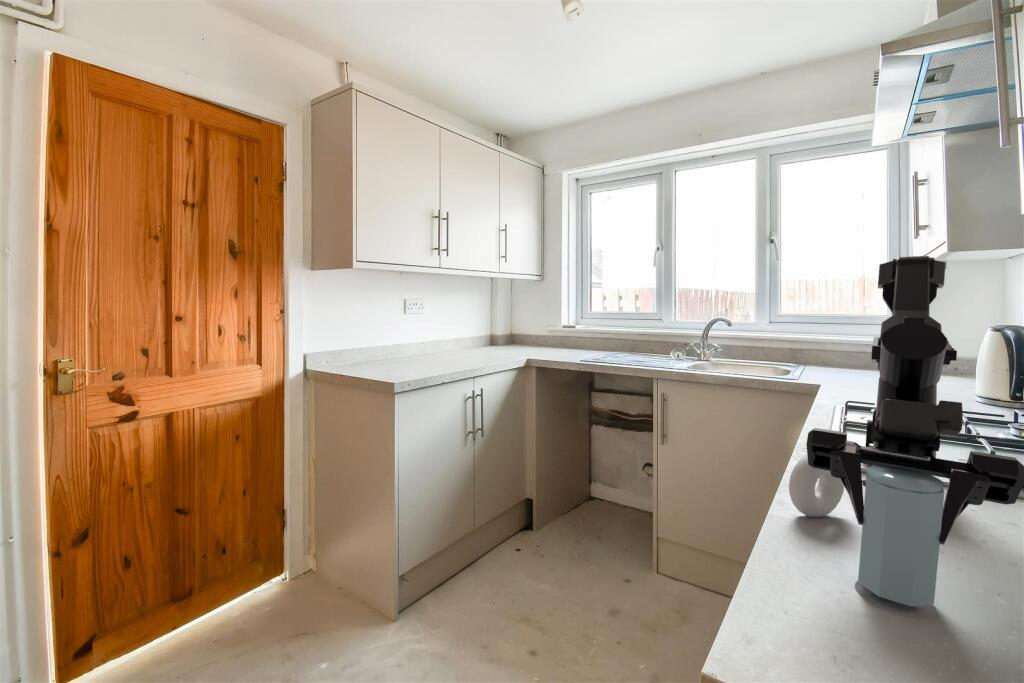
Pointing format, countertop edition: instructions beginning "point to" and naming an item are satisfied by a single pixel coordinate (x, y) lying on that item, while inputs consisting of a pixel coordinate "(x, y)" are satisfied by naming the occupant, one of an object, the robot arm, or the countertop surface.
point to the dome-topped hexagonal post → (901, 534)
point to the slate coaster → (895, 604)
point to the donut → (805, 493)
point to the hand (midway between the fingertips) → (899, 532)
